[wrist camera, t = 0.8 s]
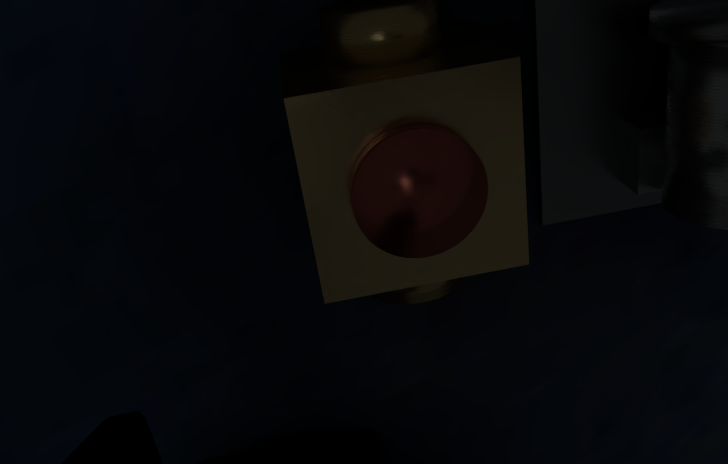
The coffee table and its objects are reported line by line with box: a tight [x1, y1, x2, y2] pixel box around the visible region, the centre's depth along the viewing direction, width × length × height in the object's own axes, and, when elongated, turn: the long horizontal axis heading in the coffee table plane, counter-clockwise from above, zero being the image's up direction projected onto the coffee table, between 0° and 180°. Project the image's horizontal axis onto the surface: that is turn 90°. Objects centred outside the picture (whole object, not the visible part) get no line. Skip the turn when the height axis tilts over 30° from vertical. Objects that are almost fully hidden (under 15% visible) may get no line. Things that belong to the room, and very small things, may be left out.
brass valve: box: [279, 0, 529, 304], centre depth 17 cm, size 7×5×6 cm
